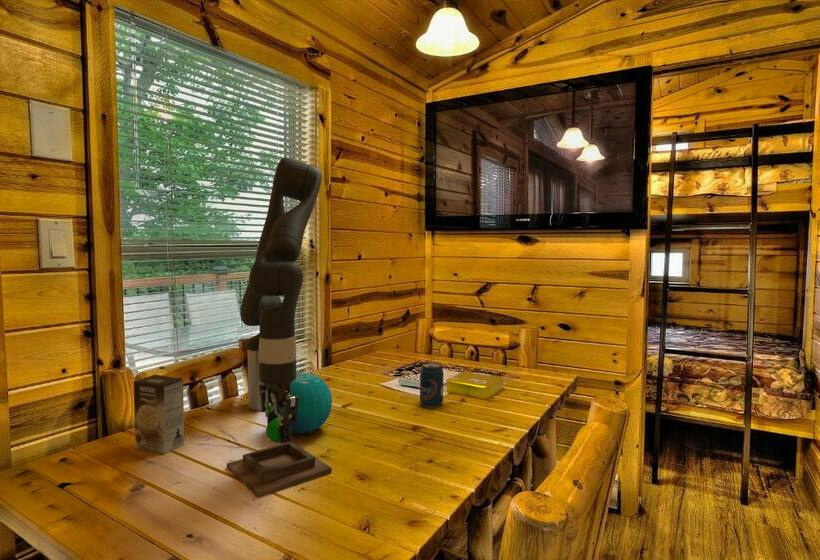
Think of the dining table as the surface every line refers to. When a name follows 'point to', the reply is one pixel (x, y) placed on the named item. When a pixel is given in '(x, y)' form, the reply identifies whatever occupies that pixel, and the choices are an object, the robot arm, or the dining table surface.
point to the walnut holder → (277, 468)
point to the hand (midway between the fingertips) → (278, 437)
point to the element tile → (475, 384)
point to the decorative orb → (310, 402)
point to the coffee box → (159, 413)
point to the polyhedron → (273, 430)
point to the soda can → (431, 385)
